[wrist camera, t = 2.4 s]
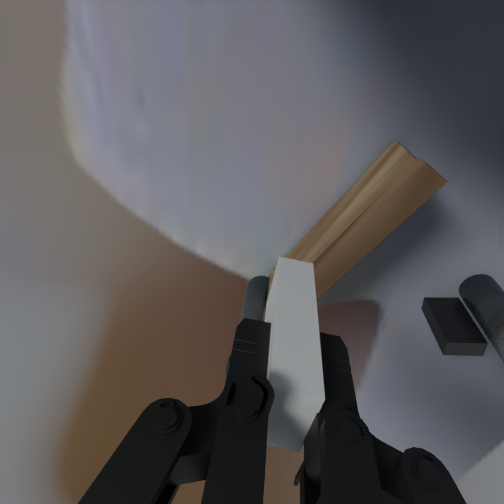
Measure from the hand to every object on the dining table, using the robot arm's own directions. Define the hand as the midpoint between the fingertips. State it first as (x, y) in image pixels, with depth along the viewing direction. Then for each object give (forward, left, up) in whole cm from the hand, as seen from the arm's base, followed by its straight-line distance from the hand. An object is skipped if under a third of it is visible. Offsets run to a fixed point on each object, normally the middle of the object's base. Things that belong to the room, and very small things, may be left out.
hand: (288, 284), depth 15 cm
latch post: (+13, +16, -16) cm, 26 cm away
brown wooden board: (+5, +3, -16) cm, 17 cm away
